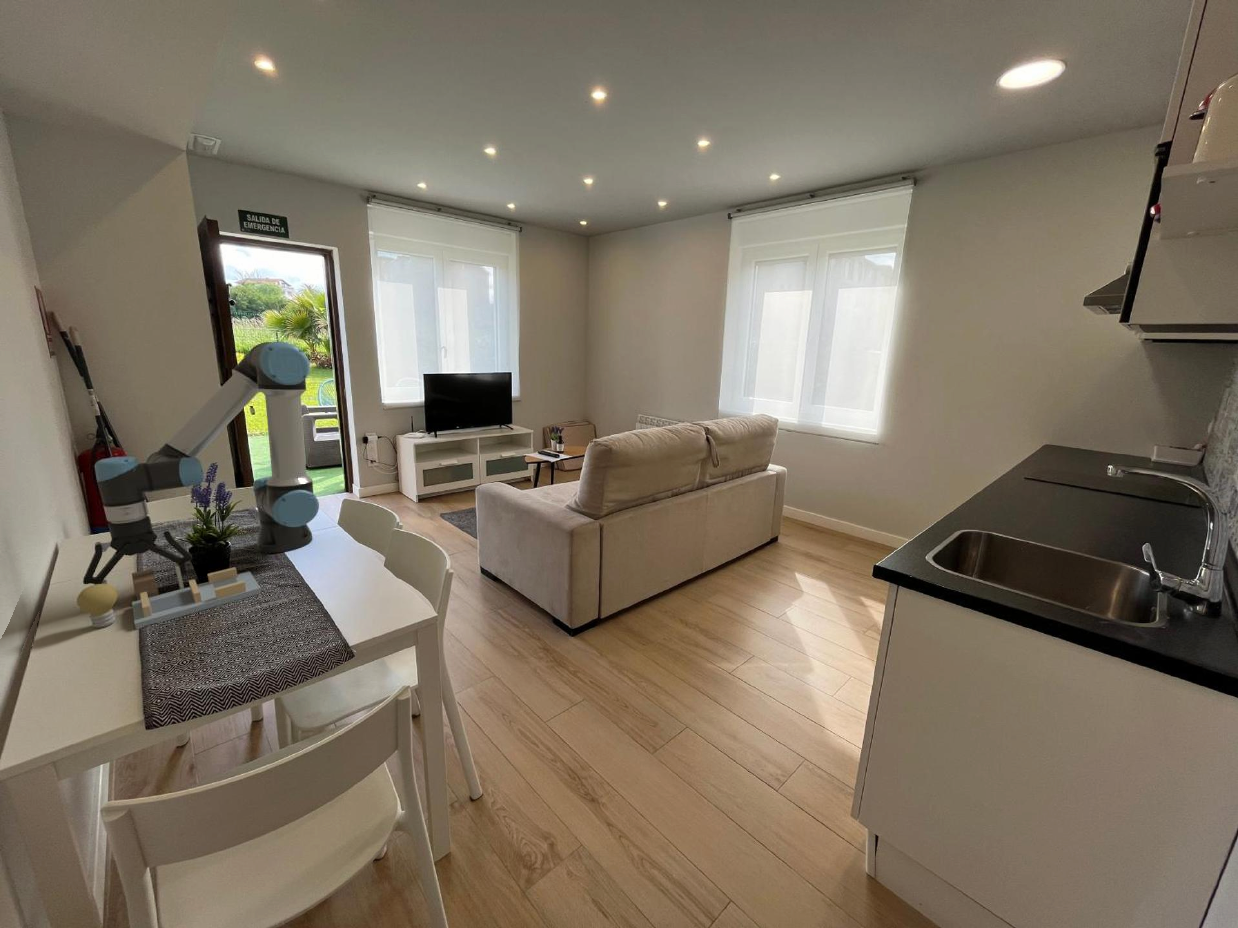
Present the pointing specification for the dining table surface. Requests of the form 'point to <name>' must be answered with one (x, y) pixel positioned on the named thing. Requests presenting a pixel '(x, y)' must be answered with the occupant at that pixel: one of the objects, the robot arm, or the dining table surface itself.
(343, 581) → the dining table surface
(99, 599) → the light bulb
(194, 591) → the jig
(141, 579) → the tan wooden stepped block
